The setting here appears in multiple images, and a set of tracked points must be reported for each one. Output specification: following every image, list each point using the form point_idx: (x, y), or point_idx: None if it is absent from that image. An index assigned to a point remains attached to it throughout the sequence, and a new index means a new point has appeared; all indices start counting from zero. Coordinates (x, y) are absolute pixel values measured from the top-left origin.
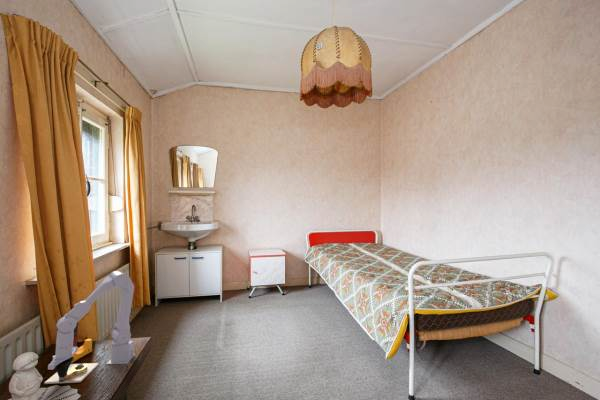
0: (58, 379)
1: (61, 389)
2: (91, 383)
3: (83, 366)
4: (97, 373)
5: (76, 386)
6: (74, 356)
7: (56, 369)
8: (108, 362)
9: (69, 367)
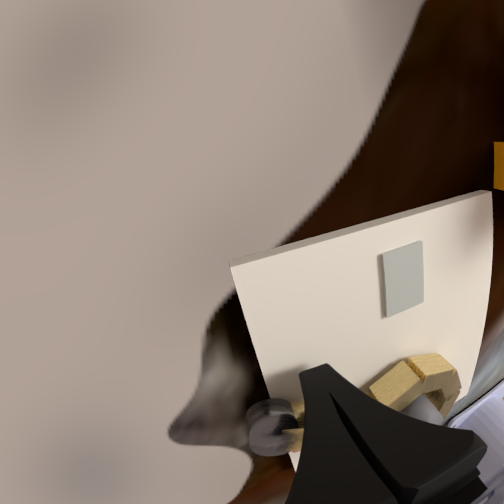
0: (293, 358)
1: (203, 442)
2: (287, 495)
3: (434, 403)
4: None
5: (252, 475)
6: None
7: (300, 454)
8: (458, 421)
9: (461, 261)
